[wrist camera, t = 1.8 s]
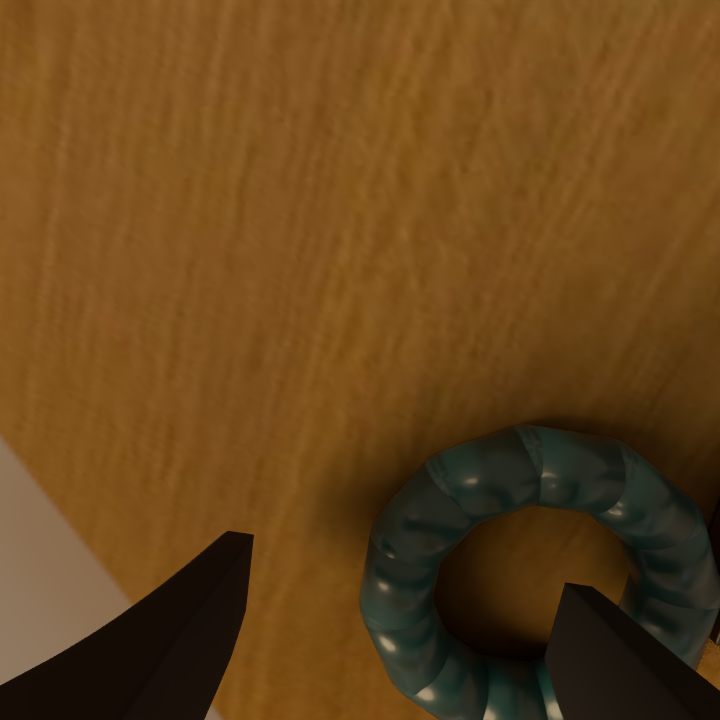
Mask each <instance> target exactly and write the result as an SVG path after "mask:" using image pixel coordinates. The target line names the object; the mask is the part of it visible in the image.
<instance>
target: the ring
mask: <svg viewBox="0 0 720 720" xmlns="http://www.w3.org/2000/svg"><path fill="white" fill-rule="evenodd" d="M534 505H537V506H544V507H550V508H557V509H563V510H570V511H576V512H583V513H588V514H590V515H591V516H592V517H593V518H595V519H596V520H597V521H598V522H600V523H601V524H602V525H603V526H605V527H606V528H607V529H608V530H610V531H611V532H612V533H614V534H615V535H616V536H617V537H619V539H620V543H621V546H622V549H623V552H624V555H625V558H626V562H627V565H628V568H629V571H630V572H629V576H628V579H627V582H626V585H625V589H624V592H623V595H622V598H621V601H620V605H619V608H620V609H621V610H623V611H624V612H625V613H626V614H627V615H629V616H630V617H631V618H632V619H633V620H635V621H636V622H637V623H638V624H639V625H640V626H642V627H643V628H644V629H645V630H646V631H648V632H649V633H650V634H651V635H652V636H654V637H655V638H656V639H657V640H658V641H659V642H661V643H662V644H663V645H664V646H665V647H667V648H668V649H669V650H670V651H671V652H673V653H674V654H675V655H676V656H677V657H679V658H680V659H681V660H682V661H683V662H685V663H686V664H687V665H688V666H690V667H691V668H692V669H693V670H694V671H696V670H697V669H698V666H699V663H700V661H701V658H702V655H703V652H704V650H705V647H706V644H707V642H708V639H709V636H710V633H711V631H712V628H713V625H714V622H715V620H716V617H717V614H718V612H719V609H720V576H719V572H718V568H717V565H716V561H715V557H714V554H713V550H712V546H711V543H710V539H709V535H708V532H707V528H706V524H705V521H704V518H703V515H702V512H701V510H700V508H699V507H698V505H697V504H696V502H695V501H694V500H693V499H692V498H691V497H690V496H689V495H688V494H687V493H686V492H685V491H684V490H682V489H681V488H680V487H679V486H677V485H676V484H675V483H674V482H673V481H671V480H670V479H669V478H668V477H667V476H665V475H664V474H663V473H662V472H660V471H659V470H658V469H657V468H656V467H654V466H653V465H652V464H651V463H649V462H648V461H647V460H646V459H645V458H643V457H642V456H641V455H640V454H638V453H637V452H636V451H635V450H634V449H632V448H631V447H630V446H628V445H627V444H625V443H624V442H622V441H620V440H617V439H615V438H611V437H607V436H601V435H594V434H588V433H581V432H575V431H568V430H561V429H555V428H548V427H542V426H535V425H527V424H522V425H515V426H511V427H508V428H506V429H503V430H500V431H497V432H494V433H491V434H488V435H486V436H483V437H480V438H477V439H474V440H471V441H468V442H466V443H463V444H460V445H457V446H454V447H451V448H448V449H446V450H443V451H440V452H438V453H436V454H434V455H432V456H431V457H430V458H428V459H427V460H426V461H425V462H424V463H423V465H422V466H421V467H420V468H419V469H418V470H417V471H416V472H415V473H414V475H413V476H412V477H411V478H410V479H409V480H408V481H407V482H406V483H405V485H404V486H403V487H402V488H401V489H400V490H399V491H398V492H397V494H396V495H395V496H394V497H393V498H392V499H391V500H390V501H389V502H388V504H387V505H386V506H385V507H384V508H383V509H382V510H381V511H380V513H379V514H378V515H377V517H376V518H375V520H374V522H373V524H372V527H371V531H370V537H369V543H368V549H367V555H366V561H365V567H364V573H363V579H362V585H361V590H360V598H359V604H360V612H361V615H362V618H363V621H364V623H365V625H366V627H367V629H368V632H369V634H370V636H371V638H372V641H373V643H374V645H375V647H376V649H377V652H378V654H379V656H380V658H381V660H382V663H383V665H384V667H385V669H386V671H387V674H388V676H389V678H390V680H391V681H392V683H393V684H394V686H395V687H396V689H397V690H399V691H400V692H401V693H402V694H403V695H405V696H406V697H407V698H409V699H410V700H412V701H413V702H415V703H416V704H417V705H419V706H420V707H422V708H423V709H425V710H426V711H427V712H429V713H430V714H432V715H433V716H435V717H436V718H437V719H439V720H563V717H562V715H561V712H560V710H559V706H558V703H557V700H556V697H555V693H554V690H553V687H552V683H551V680H550V676H549V672H548V669H547V665H546V661H545V658H541V659H537V660H534V661H530V662H524V661H518V660H512V659H505V658H499V657H492V656H486V655H480V654H477V653H476V652H475V651H473V650H472V649H471V648H469V647H468V646H466V645H465V644H464V643H462V642H461V641H460V640H458V639H457V638H455V637H454V636H453V635H451V634H450V633H449V632H447V631H446V630H445V628H444V625H443V623H442V621H441V618H440V616H439V613H438V611H437V609H436V606H435V604H434V601H433V597H434V592H435V588H436V583H437V578H438V573H439V568H440V564H441V561H442V560H443V559H444V558H445V557H446V556H447V555H448V554H449V553H450V552H451V551H452V550H453V549H454V548H455V547H456V546H457V545H458V544H459V543H460V542H461V541H462V539H463V538H464V537H465V536H466V535H467V534H468V533H469V532H470V531H471V530H472V529H473V528H474V527H475V526H476V525H477V524H479V523H482V522H485V521H488V520H491V519H494V518H497V517H500V516H503V515H506V514H509V513H512V512H515V511H518V510H521V509H524V508H527V507H530V506H534Z"/></svg>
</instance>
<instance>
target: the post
mask: <svg viewBox="0 0 720 720" xmlns="http://www.w3.org/2000/svg"><path fill="white" fill-rule="evenodd" d="M709 539H710V543H711V546H712V550H713V554H714V557H715V561H716V565H717V568H718V572H719V576H720V504H719V507H718V510H717V513H716V516H715V519H714V522H713V525H712V527H711V530H710V533H709ZM709 638H710V639H711V640H712V641H713V642H714V643H715V644H716V645H718V646H720V609H719V612H718V614H717V617H716V620H715V622H714V625H713V628H712V631H711V633H710V636H709Z"/></svg>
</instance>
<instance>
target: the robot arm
mask: <svg viewBox="0 0 720 720" xmlns="http://www.w3.org/2000/svg"><path fill="white" fill-rule="evenodd" d="M253 539H254V535H252V534H246V533H239V532H233V531H227V532H225V533H224V534H222V535H221V536H220V537H219V538H218V539H217V540H215V541H214V542H213V543H212V544H211V545H210V546H208V547H207V548H206V549H205V550H204V551H203V552H201V553H200V554H199V555H198V556H197V557H195V558H194V559H193V560H192V561H191V562H189V563H188V564H187V565H186V566H185V567H183V568H182V569H181V570H180V571H178V572H177V573H176V574H174V575H173V576H172V577H171V578H169V579H168V580H167V581H166V582H164V583H163V584H162V585H161V586H159V587H158V588H157V589H155V590H154V591H153V592H151V593H150V594H149V595H147V596H146V597H144V598H143V599H142V600H140V601H139V602H138V603H136V604H135V605H133V606H132V607H131V608H129V609H128V610H126V611H125V612H124V613H122V614H121V615H119V616H118V617H117V618H115V619H114V620H112V621H111V622H109V623H108V624H106V625H105V626H103V627H102V628H100V629H99V630H97V631H96V632H94V633H92V634H91V635H90V636H88V637H86V638H84V639H83V640H81V641H80V642H78V643H76V644H75V645H73V646H71V647H70V648H68V649H66V650H65V651H63V652H61V653H60V654H58V655H56V656H54V657H53V658H51V659H49V660H47V661H45V662H43V663H41V664H40V665H38V666H36V667H34V668H32V669H30V670H28V671H26V672H25V673H23V674H21V675H19V676H17V677H15V678H13V679H12V680H10V681H8V682H6V683H4V684H2V685H0V720H204V719H205V717H206V714H207V712H208V710H209V708H210V705H211V703H212V701H213V698H214V696H215V694H216V691H217V689H218V687H219V684H220V682H221V680H222V677H223V675H224V673H225V670H226V668H227V666H228V663H229V661H230V659H231V656H232V653H233V650H234V647H235V643H236V640H237V637H238V634H239V631H240V628H241V625H242V621H243V618H244V615H245V612H246V604H247V595H248V585H249V576H250V567H251V557H252V548H253ZM544 658H545V661H546V665H547V669H548V672H549V676H550V680H551V683H552V687H553V690H554V693H555V697H556V700H557V703H558V706H559V710H560V712H561V715H562V717H563V720H720V691H719V690H718V689H717V688H716V687H714V686H713V685H712V684H711V683H709V682H708V681H707V680H706V679H704V678H703V677H702V676H701V675H699V674H698V673H697V672H696V671H694V670H693V669H692V668H691V667H690V666H688V665H687V664H686V663H685V662H683V661H682V660H681V659H680V658H679V657H677V656H676V655H675V654H674V653H673V652H671V651H670V650H669V649H668V648H667V647H665V646H664V645H663V644H662V643H661V642H659V641H658V640H657V639H656V638H655V637H654V636H652V635H651V634H650V633H649V632H648V631H646V630H645V629H644V628H643V627H642V626H640V625H639V624H638V623H637V622H636V621H635V620H633V619H632V618H631V617H630V616H629V615H627V614H626V613H625V612H624V611H623V610H621V609H620V608H619V607H618V606H616V605H615V604H614V603H613V602H612V601H610V600H609V599H608V598H606V597H605V596H604V595H603V594H601V593H600V592H599V591H597V590H596V589H595V588H593V587H591V586H585V585H578V584H572V583H565V585H564V589H563V592H562V596H561V600H560V603H559V607H558V610H557V614H556V617H555V621H554V625H553V628H552V632H551V635H550V639H549V642H548V646H547V650H546V653H545V657H544Z"/></svg>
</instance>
